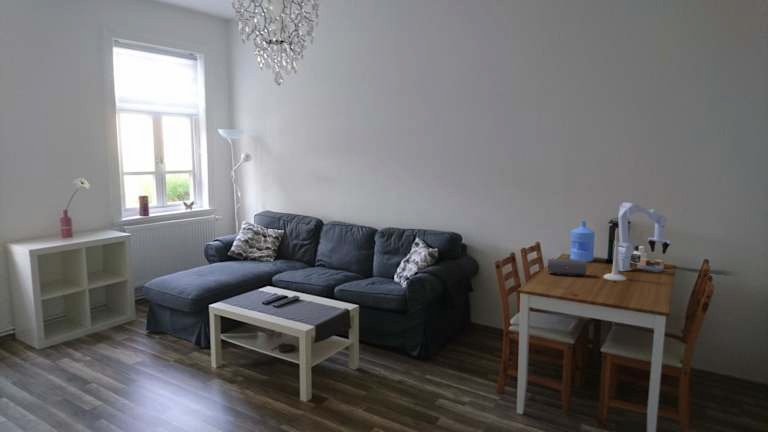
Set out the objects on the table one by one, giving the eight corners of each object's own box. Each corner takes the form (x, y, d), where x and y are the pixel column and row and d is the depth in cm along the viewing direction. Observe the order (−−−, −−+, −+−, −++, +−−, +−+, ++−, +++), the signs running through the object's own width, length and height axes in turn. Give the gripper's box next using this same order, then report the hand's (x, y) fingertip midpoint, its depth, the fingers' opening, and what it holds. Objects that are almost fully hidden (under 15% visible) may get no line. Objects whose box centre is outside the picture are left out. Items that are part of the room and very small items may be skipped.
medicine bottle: (630, 262, 345) (631, 245, 343) (637, 261, 348) (637, 244, 347) (639, 264, 339) (640, 247, 337) (646, 263, 342) (647, 246, 340)
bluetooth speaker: (547, 275, 312) (548, 259, 311) (547, 271, 321) (548, 256, 320) (586, 277, 305) (586, 261, 303) (585, 274, 313) (585, 258, 312)
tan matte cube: (657, 266, 331) (658, 259, 331) (663, 268, 328) (664, 260, 327) (653, 267, 329) (654, 260, 328) (659, 268, 326) (659, 261, 325)
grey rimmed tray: (663, 270, 320) (664, 261, 319) (657, 272, 316) (657, 263, 316) (643, 266, 332) (643, 257, 331) (636, 267, 328) (637, 259, 328)
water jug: (577, 256, 366) (578, 219, 362) (597, 259, 354) (599, 221, 351) (566, 259, 356) (567, 221, 353) (586, 263, 344) (588, 223, 341)
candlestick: (629, 281, 295) (631, 231, 291) (606, 280, 298) (608, 231, 294) (623, 276, 308) (625, 228, 304) (601, 275, 310) (603, 228, 306)
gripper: (673, 233, 323) (672, 253, 324) (652, 230, 335) (651, 250, 337) (667, 234, 319) (666, 255, 321) (646, 231, 332) (645, 251, 334)
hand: (658, 252), depth 329 cm, fingers open, 7 cm apart
